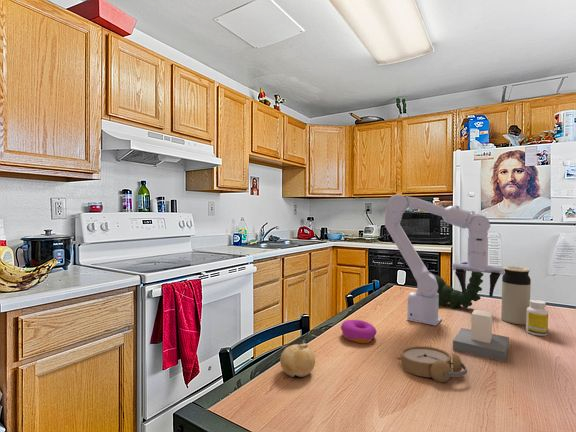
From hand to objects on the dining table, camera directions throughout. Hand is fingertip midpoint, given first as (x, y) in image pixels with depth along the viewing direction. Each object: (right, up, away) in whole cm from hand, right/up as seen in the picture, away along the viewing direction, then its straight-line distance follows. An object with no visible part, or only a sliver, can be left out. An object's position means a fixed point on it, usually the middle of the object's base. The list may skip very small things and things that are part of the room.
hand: (477, 294), depth 111 cm
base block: (-8, -11, -16) cm, 21 cm away
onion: (-59, -11, -31) cm, 67 cm away
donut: (-40, -11, -10) cm, 43 cm away
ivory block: (-8, -8, -16) cm, 20 cm away
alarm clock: (-27, -12, -29) cm, 41 cm away
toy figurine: (+1, -10, +24) cm, 26 cm away
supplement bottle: (+15, -11, -5) cm, 20 cm away
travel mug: (+16, -11, +6) cm, 20 cm away
